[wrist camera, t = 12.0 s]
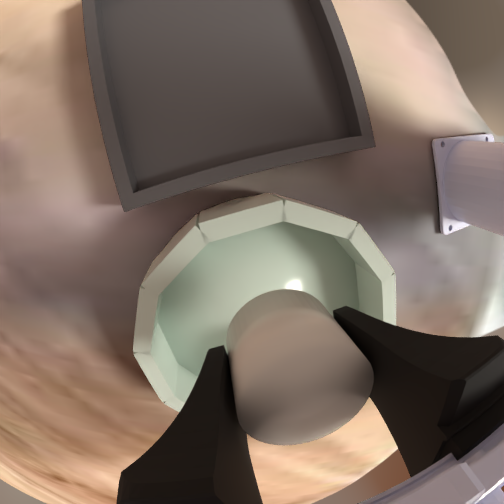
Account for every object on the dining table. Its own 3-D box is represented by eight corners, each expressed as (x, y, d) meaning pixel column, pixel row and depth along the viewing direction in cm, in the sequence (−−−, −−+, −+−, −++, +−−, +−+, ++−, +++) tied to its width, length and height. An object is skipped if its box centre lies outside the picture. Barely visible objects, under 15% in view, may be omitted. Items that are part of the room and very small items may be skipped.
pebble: (323, 274, 11) (373, 323, 8) (334, 360, 13) (372, 417, 9) (212, 307, 11) (217, 374, 7) (241, 388, 12) (255, 457, 9)
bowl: (347, 170, 18) (385, 174, 14) (367, 354, 23) (392, 385, 19) (113, 236, 17) (88, 258, 13) (194, 409, 22) (195, 449, 18)
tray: (294, -38, 13) (303, -55, 10) (355, 147, 18) (375, 146, 15) (92, 2, 12) (81, -14, 9) (134, 205, 17) (124, 212, 14)
